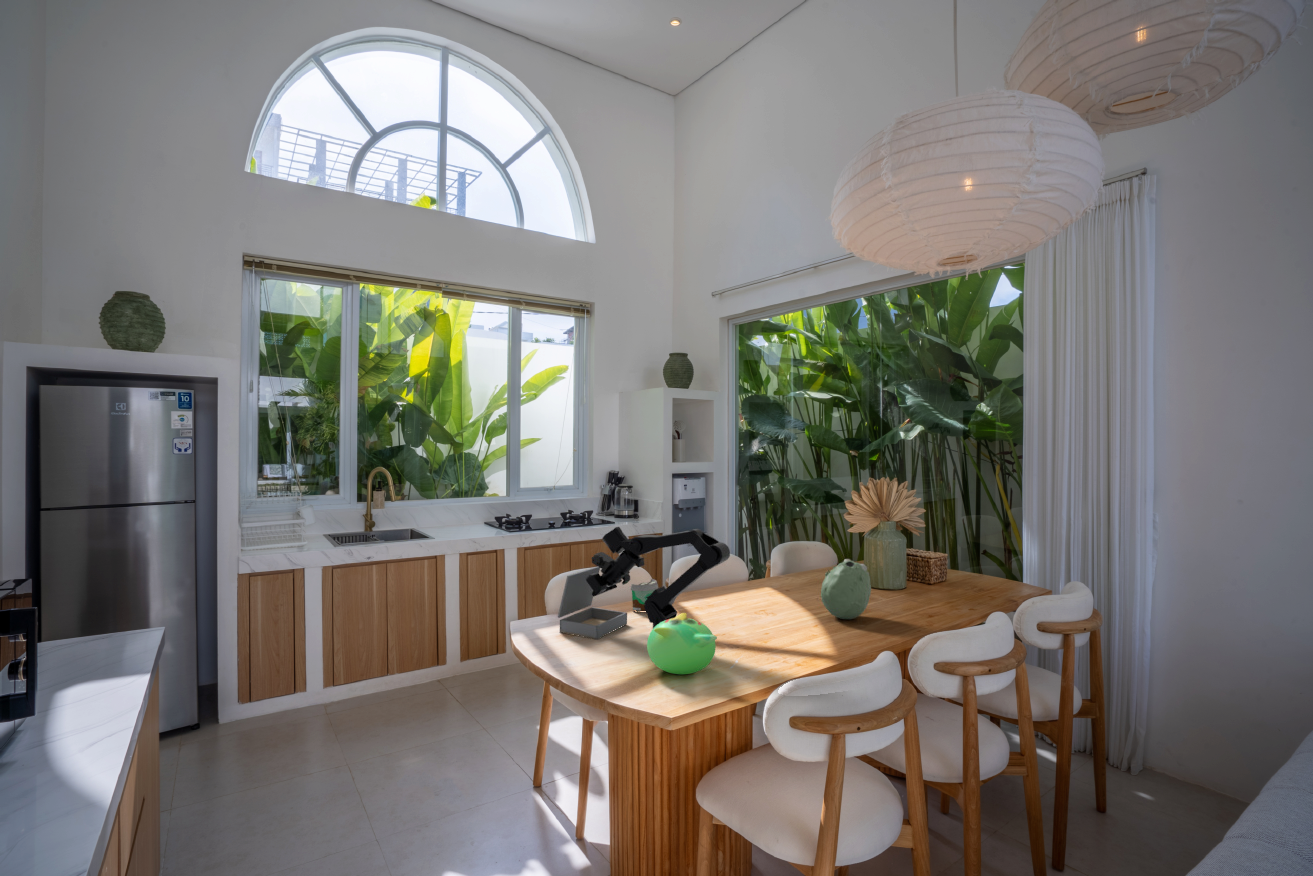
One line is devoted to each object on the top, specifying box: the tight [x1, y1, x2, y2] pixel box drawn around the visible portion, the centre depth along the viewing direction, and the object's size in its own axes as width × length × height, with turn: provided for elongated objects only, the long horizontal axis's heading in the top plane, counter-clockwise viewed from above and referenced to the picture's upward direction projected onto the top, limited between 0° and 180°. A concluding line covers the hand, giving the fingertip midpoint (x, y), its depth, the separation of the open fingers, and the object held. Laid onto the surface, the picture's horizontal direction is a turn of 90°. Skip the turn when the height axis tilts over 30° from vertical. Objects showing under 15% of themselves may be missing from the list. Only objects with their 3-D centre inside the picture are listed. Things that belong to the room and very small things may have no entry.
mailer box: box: [559, 606, 628, 640], centre depth 205 cm, size 14×18×4 cm
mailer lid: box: [557, 566, 601, 618], centre depth 208 cm, size 14×18×1 cm
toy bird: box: [646, 612, 717, 675], centre depth 167 cm, size 18×17×15 cm
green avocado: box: [820, 558, 872, 620], centre depth 220 cm, size 16×19×20 cm
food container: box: [630, 578, 659, 611], centre depth 228 cm, size 12×6×10 cm, turn 143°
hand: (593, 595), depth 205 cm, fingers closed
